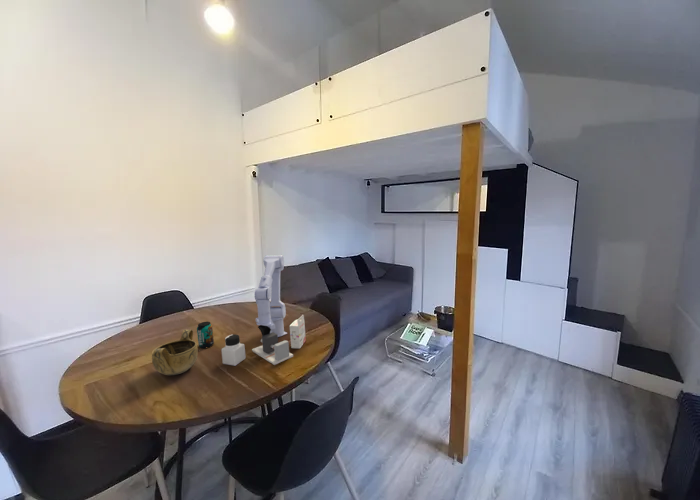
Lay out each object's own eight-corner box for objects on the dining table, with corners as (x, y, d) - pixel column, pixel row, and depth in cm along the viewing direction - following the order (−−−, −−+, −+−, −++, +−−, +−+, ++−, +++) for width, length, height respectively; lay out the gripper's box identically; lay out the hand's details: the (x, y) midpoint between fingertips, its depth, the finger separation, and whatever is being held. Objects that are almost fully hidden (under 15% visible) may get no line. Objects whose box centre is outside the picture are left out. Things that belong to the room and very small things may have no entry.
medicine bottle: (246, 358, 133) (243, 333, 131) (235, 366, 126) (232, 340, 125) (233, 356, 135) (231, 332, 134) (222, 363, 129) (219, 338, 127)
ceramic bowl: (181, 386, 113) (177, 350, 111) (139, 387, 113) (134, 351, 111) (209, 357, 135) (206, 327, 133) (174, 358, 135) (170, 328, 133)
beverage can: (216, 345, 147) (213, 323, 146) (201, 350, 142) (199, 327, 141) (210, 341, 152) (208, 320, 151) (196, 346, 147) (194, 324, 146)
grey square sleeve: (263, 351, 136) (261, 336, 135) (274, 346, 140) (273, 332, 139) (267, 353, 133) (266, 338, 132) (278, 349, 138) (277, 334, 137)
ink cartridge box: (297, 340, 150) (295, 313, 148) (306, 341, 149) (304, 313, 147) (290, 348, 141) (288, 319, 139) (299, 348, 140) (298, 320, 138)
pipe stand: (252, 351, 140) (250, 335, 139) (270, 343, 147) (269, 329, 146) (274, 365, 126) (273, 347, 125) (293, 356, 133) (292, 340, 132)
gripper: (249, 311, 139) (251, 338, 141) (264, 318, 129) (266, 346, 131) (262, 307, 144) (264, 333, 146) (278, 313, 134) (279, 341, 136)
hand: (266, 339), depth 139 cm, fingers closed
